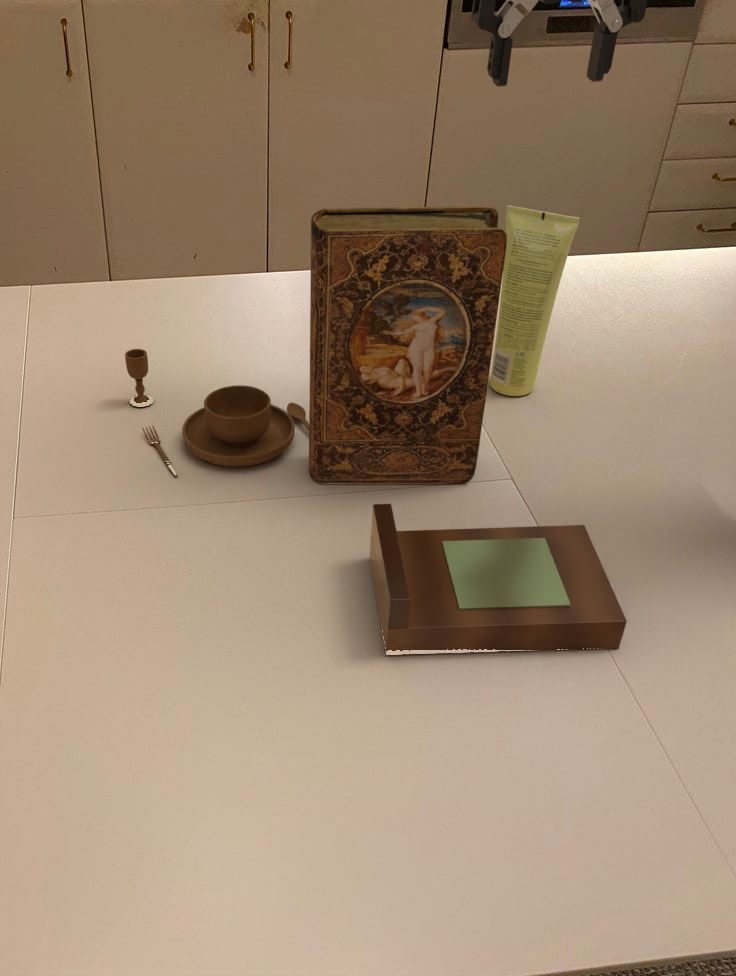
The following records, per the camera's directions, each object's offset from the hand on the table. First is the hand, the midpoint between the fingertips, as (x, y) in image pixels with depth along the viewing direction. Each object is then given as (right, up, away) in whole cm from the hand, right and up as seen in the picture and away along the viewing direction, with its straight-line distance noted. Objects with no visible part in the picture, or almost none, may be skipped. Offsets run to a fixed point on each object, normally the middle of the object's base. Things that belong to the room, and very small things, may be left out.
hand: (547, 82), depth 87 cm
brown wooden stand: (-6, -46, -1) cm, 46 cm away
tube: (+4, -21, +26) cm, 33 cm away
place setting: (-29, -26, +22) cm, 44 cm away
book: (-12, -32, +14) cm, 37 cm away
